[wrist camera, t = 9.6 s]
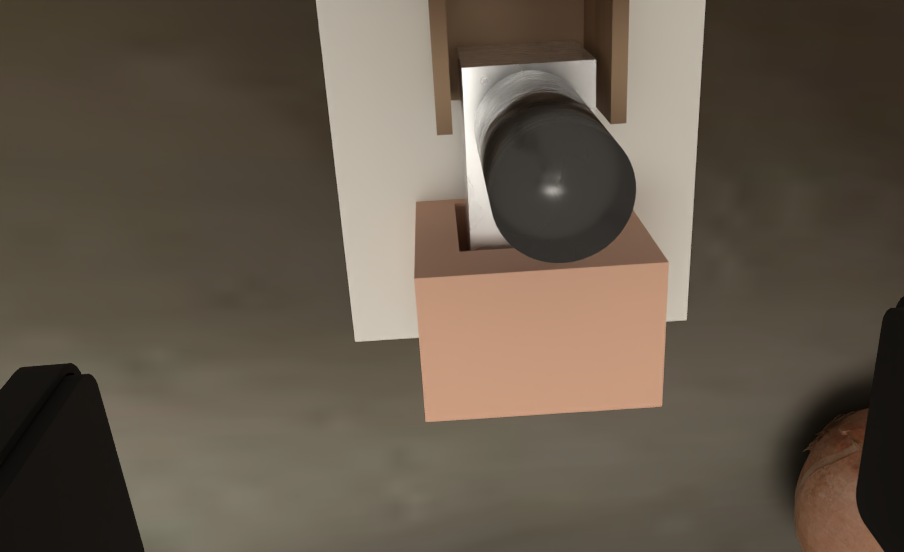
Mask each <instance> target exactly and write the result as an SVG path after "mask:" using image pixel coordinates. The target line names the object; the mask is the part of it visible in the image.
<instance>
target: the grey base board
mask: <svg viewBox="0 0 904 552" xmlns="http://www.w3.org/2000/svg"><path fill="white" fill-rule="evenodd" d="M705 1H706V0H629V40H628V79H627V119H626V123H623V124H610V123H609V122H608V121H607V119H606V118H605V117H604V116H603V115H602V114H601V112H600V111H599V110H598V109H597V108H596V117H597V118H598V119H599V120H600V122H601V123H602V124H603V125H604V127H605V128H606V129H607V130H608V132H609V133H610V134H611V135H612V136H613V138H614V139H615V140H616V141H617V143H618V144H619V145H620V146H621V148H622V149H623V150H624V152H625V153H626V155H627V156H628V158H629V160H630V162H631V164H632V167H633V170H634V174H635V180H636V198H635V203H634V208H633V210H634V212H635V213H636V215H637V216H638V218H639V219H640V221H641V222H642V224H643V225H644V226H645V228H646V229H647V231H648V232H649V234H650V235H651V237H652V238H653V240H654V241H655V243H656V244H657V245H658V247H659V248H660V250H661V251H662V253H663V254H664V256H665V257H666V259H667V260H668V262H669V271H668V292H667V312H666V321H681V320H687V305H688V288H689V271H690V254H691V238H692V221H693V204H694V187H695V170H696V153H697V136H698V119H699V103H700V86H701V69H702V52H703V35H704V18H705ZM316 6H317V15H318V23H319V32H320V41H321V49H322V58H323V67H324V75H325V84H326V93H327V101H328V110H329V119H330V127H331V136H332V145H333V153H334V162H335V171H336V179H337V188H338V197H339V205H340V214H341V223H342V231H343V240H344V249H345V258H346V266H347V275H348V284H349V292H350V301H351V310H352V318H353V327H354V336H355V342H359V341H374V340H390V339H405V338H419V332H418V319H417V307H416V295H415V282H414V265H415V219H416V202H422V201H437V200H453V199H465V194H464V175H463V156H462V138H461V119H460V100H452V101H451V113H452V130H453V134H451V135H437V129H436V113H435V98H434V82H433V67H432V52H431V36H430V21H429V6H428V0H316Z"/></svg>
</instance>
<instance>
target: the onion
mask: <svg viewBox="0 0 904 552" xmlns="http://www.w3.org/2000/svg"><path fill="white" fill-rule="evenodd" d="M868 410H869V407H868V408H867V409H864V410H862V409H860V410H858V411H856V412H854V411H852V412H849V413H848V414H843V416H842V417H840V418H839V416H840V415H841V414H839V415H838V416H836V417H835V418H834V419H833V420H832V421H831V420H830V423H829V424H828V425H827V426H826V427H825V428H824V429H823V430H822V431H821V432H819V433H817V434H814V435H818V436H817V438H816V439H815V440H813V441H812V442H811V443H810V444H809V446H808V447H807V448H806V449H804V450H803V451H806V450H810V453H809V455H808V458H807V460H806V462H805V464H804V466H803V468H802V470H801V472H800V476H799V479H798V482H797V486H796V491H795V510H794V512H795V513H794V519H795V526H796V531H797V535H796V537H797V538H798V539H799V542H800V546H801V548H802V551H803V552H884V551H883V549H882V548H881V546H880V545H879V544H878V542H877V541H876V539H875V538H874V537H873V535H872V534H871V532H870V531H869V530H868V528H867V527H866V525H865V524H864V522H863V521H862V519H861V517H860V514H859V511H858V507H857V503H856V487H857V480H858V474H859V467H860V461H861V455H862V448H863V442H864V435H865V429H866V423H867V416H868ZM850 413H852V414H851V415H850ZM836 419H837V420H836ZM835 420H836V421H835ZM831 424H832V425H831ZM803 451H802V452H803Z"/></svg>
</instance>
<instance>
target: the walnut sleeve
mask: <svg viewBox="0 0 904 552" xmlns="http://www.w3.org/2000/svg"><path fill="white" fill-rule="evenodd" d="M428 6H429V21H430V36H431V52H432V67H433V82H434V98H435V113H436V129H437V135H451V134H453V130H452V113H451V101H452V100H459V82H458V63H457V47H465V46H481V45H496V44H512V43H528V42H544V41H560V40H575V41H577V42H578V43H579V44H580V45H581V46H582V47H583V48H584V49H585V50H586V51H588V52H589V53H590V54H591V55H592V56H593V57H594V58H595V59H596V108H597V109H598V110H599V111H600V112H601V114H602V115H603V116H604V117H605V118H606V119H607V121H608V122H609V123H610V124H623V123H626V119H627V79H628V40H629V0H428Z"/></svg>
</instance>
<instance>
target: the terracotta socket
mask: <svg viewBox="0 0 904 552" xmlns="http://www.w3.org/2000/svg"><path fill="white" fill-rule="evenodd" d="M668 271H669V262H668V260H667V259H666V257H665V256H664V254H663V253H662V251H661V250H660V248H659V247H658V245H657V244H656V243H655V241H654V240H653V238H652V237H651V235H650V234H649V232H648V231H647V229H646V228H645V226H644V225H643V224H642V222H641V221H640V219H639V218H638V216H637V215H636V213H635V212H634V210H633V211H632V213H631V216H630V218H629V220H628V222H627V224H626V226H625V227H624V229H623V230H622V232H621V233H620V234H619V235H618V236H617V238H616V239H615V240H614V241H613V242H612V243H610V244H609V245H608V246H607V247H606V248H604V249H603V250H601V251H600V252H598V253H596V254H594V255H592V256H590V257H587V258H585V259H582V260H578V261H574V262H568V263H549V262H543V261H539V260H535V259H533V258H530V257H528V256H526V255H524V254H522V253H520V252H519V251H518V250H516V249H515V248H509V249H493V250H478V251H468V250H467V231H466V213H465V199H453V200H437V201H422V202H416V219H415V265H414V282H415V295H416V307H417V319H418V332H419V344H420V356H421V368H422V381H423V393H424V405H425V418H426V422H433V421H448V420H464V419H479V418H494V417H509V416H524V415H540V414H555V413H570V412H585V411H600V410H616V409H631V408H646V407H661V406H662V395H663V374H664V353H665V333H666V312H667V292H668Z"/></svg>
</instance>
